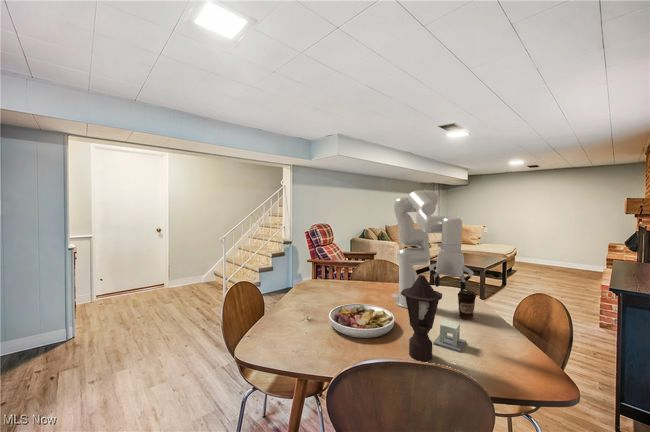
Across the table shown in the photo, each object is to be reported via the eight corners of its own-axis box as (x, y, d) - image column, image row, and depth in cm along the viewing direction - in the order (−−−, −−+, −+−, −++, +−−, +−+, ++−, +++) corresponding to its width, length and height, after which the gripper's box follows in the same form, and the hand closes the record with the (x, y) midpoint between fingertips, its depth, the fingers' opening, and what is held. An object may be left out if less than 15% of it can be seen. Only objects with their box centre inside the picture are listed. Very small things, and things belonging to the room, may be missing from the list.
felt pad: (433, 344, 112) (433, 342, 112) (440, 335, 120) (440, 333, 120) (460, 352, 106) (460, 350, 106) (466, 342, 114) (466, 340, 114)
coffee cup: (478, 322, 133) (479, 295, 132) (459, 320, 135) (460, 294, 134) (472, 315, 141) (473, 289, 141) (455, 313, 143) (455, 288, 143)
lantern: (450, 366, 97) (451, 280, 96) (408, 368, 96) (409, 281, 94) (430, 344, 112) (431, 270, 110) (394, 346, 110) (395, 271, 109)
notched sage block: (439, 341, 112) (440, 324, 112) (443, 336, 117) (444, 319, 117) (455, 346, 109) (456, 328, 108) (459, 340, 113) (459, 323, 113)
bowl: (356, 308, 151) (356, 294, 151) (406, 325, 130) (407, 309, 129) (315, 325, 130) (315, 308, 130) (367, 349, 109) (367, 329, 108)
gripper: (426, 246, 117) (425, 286, 118) (472, 251, 106) (470, 295, 108) (432, 244, 123) (431, 282, 124) (476, 248, 112) (474, 290, 113)
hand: (449, 288), depth 116 cm, fingers open, 9 cm apart
